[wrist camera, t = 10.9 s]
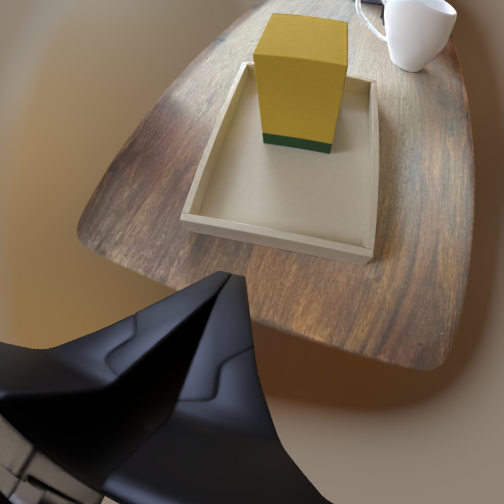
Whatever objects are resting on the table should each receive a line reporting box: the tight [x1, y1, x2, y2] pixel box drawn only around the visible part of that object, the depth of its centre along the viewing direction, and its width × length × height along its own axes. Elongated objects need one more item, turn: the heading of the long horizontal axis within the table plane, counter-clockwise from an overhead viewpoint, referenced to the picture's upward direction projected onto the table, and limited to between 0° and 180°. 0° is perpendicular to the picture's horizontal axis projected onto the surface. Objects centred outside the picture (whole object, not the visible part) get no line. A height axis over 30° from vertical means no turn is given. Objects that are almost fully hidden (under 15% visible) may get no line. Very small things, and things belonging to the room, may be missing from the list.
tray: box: [180, 61, 379, 266], centre depth 23 cm, size 19×14×2 cm
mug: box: [356, 0, 457, 72], centre depth 23 cm, size 12×8×11 cm
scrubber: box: [253, 13, 348, 154], centre depth 20 cm, size 7×6×10 cm
